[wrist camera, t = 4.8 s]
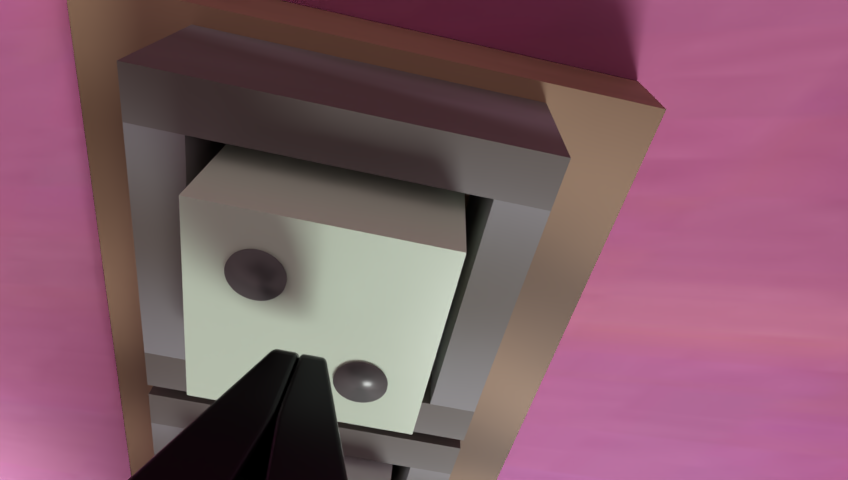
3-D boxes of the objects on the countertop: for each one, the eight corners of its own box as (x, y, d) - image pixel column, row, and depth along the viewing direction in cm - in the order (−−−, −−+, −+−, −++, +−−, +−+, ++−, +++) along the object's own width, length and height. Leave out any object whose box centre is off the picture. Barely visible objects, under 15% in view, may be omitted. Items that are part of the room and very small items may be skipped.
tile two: (418, 349, 13) (412, 436, 11) (230, 313, 12) (185, 396, 10) (464, 184, 10) (466, 254, 8) (234, 136, 10) (177, 196, 8)
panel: (432, 573, 25) (427, 705, 21) (167, 531, 24) (108, 660, 20) (638, 81, 13) (723, 166, 9) (118, -37, 12) (-55, -4, 8)
